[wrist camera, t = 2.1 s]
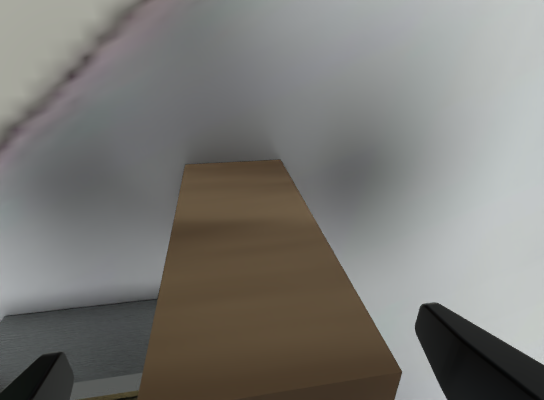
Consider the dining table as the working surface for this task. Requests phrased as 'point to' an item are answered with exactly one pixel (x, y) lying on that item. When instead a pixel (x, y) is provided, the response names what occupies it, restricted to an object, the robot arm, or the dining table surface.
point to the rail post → (258, 299)
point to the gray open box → (83, 346)
